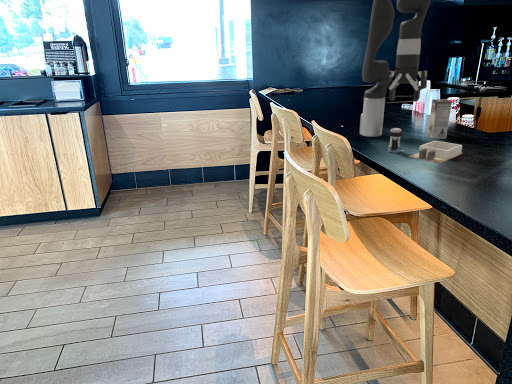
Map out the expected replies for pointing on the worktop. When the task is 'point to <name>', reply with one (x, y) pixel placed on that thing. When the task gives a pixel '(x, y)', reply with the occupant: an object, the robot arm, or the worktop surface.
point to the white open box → (442, 149)
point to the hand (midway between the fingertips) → (403, 100)
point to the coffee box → (439, 118)
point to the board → (430, 156)
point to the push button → (395, 140)
